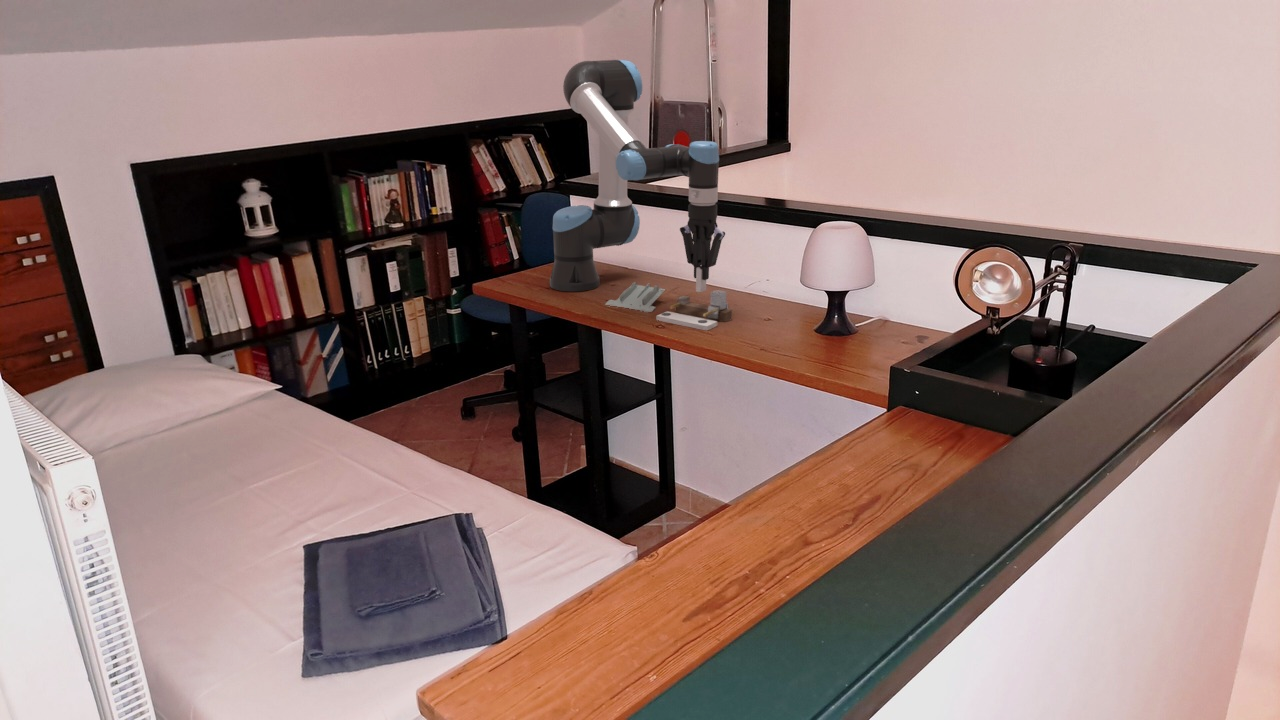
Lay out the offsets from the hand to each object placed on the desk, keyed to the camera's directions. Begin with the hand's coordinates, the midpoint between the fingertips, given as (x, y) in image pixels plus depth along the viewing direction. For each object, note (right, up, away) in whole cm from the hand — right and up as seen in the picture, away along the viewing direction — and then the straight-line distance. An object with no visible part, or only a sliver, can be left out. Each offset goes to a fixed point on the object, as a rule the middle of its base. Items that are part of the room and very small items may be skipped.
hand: (700, 290), depth 244 cm
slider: (+3, -7, -3) cm, 9 cm away
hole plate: (-4, -9, -4) cm, 11 cm away
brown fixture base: (-1, -7, 0) cm, 7 cm away
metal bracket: (-17, -3, +14) cm, 22 cm away
